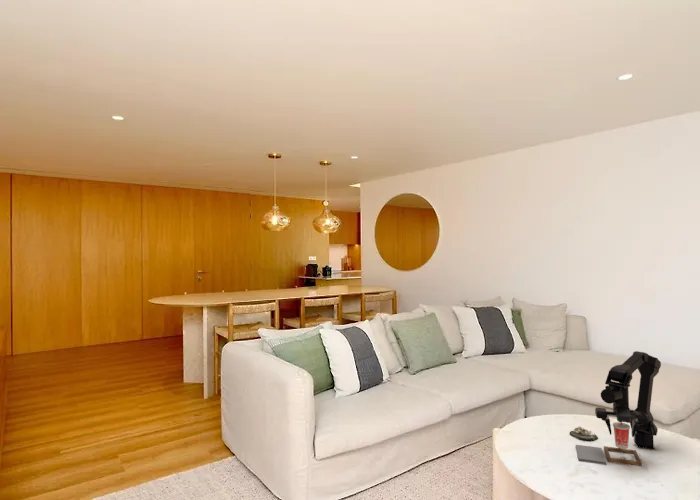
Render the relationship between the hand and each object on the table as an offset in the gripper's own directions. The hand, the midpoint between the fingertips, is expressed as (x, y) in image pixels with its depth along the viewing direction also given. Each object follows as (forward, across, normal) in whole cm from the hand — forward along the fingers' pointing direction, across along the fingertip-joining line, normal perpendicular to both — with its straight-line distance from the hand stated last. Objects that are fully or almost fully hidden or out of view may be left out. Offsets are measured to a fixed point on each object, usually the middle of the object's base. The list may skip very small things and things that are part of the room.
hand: (621, 435), depth 186 cm
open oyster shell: (+10, -13, +18) cm, 24 cm away
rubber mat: (+9, -12, -2) cm, 15 cm away
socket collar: (+9, 0, 0) cm, 9 cm away
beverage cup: (+5, 0, 0) cm, 5 cm away
